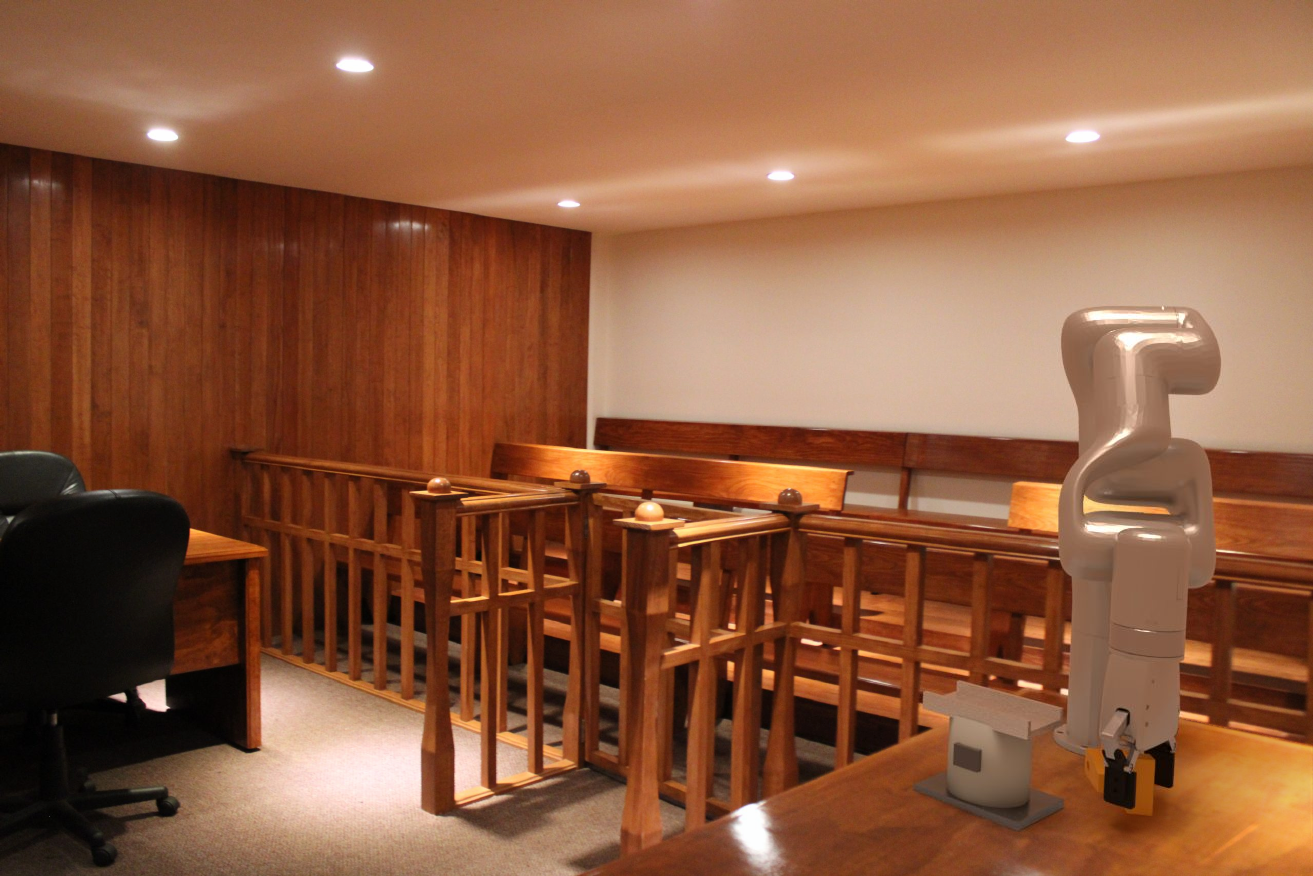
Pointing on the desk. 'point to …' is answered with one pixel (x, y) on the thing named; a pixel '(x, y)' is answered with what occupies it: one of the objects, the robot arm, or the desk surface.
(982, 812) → the cylinder with tray top
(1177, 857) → the desk surface
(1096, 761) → the pipe clamp
